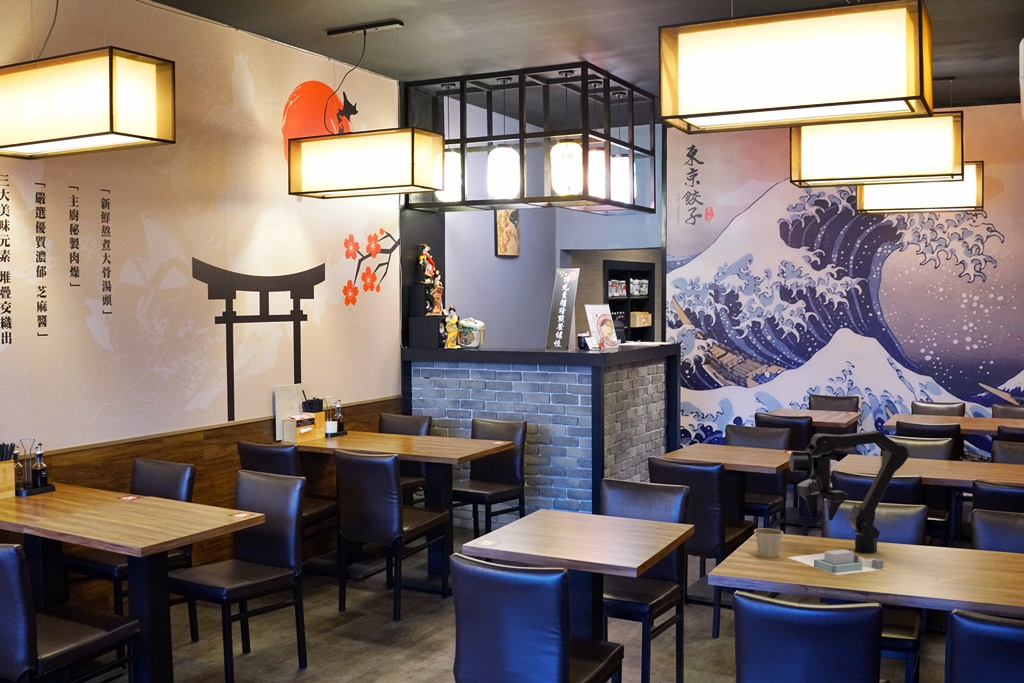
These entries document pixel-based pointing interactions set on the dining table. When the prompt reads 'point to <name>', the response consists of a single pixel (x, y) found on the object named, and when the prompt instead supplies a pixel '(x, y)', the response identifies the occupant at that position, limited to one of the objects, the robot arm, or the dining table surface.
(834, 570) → the holder
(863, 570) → the board
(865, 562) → the clips
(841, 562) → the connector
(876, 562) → the grey blocky piece
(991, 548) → the dining table surface
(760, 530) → the flower pot
